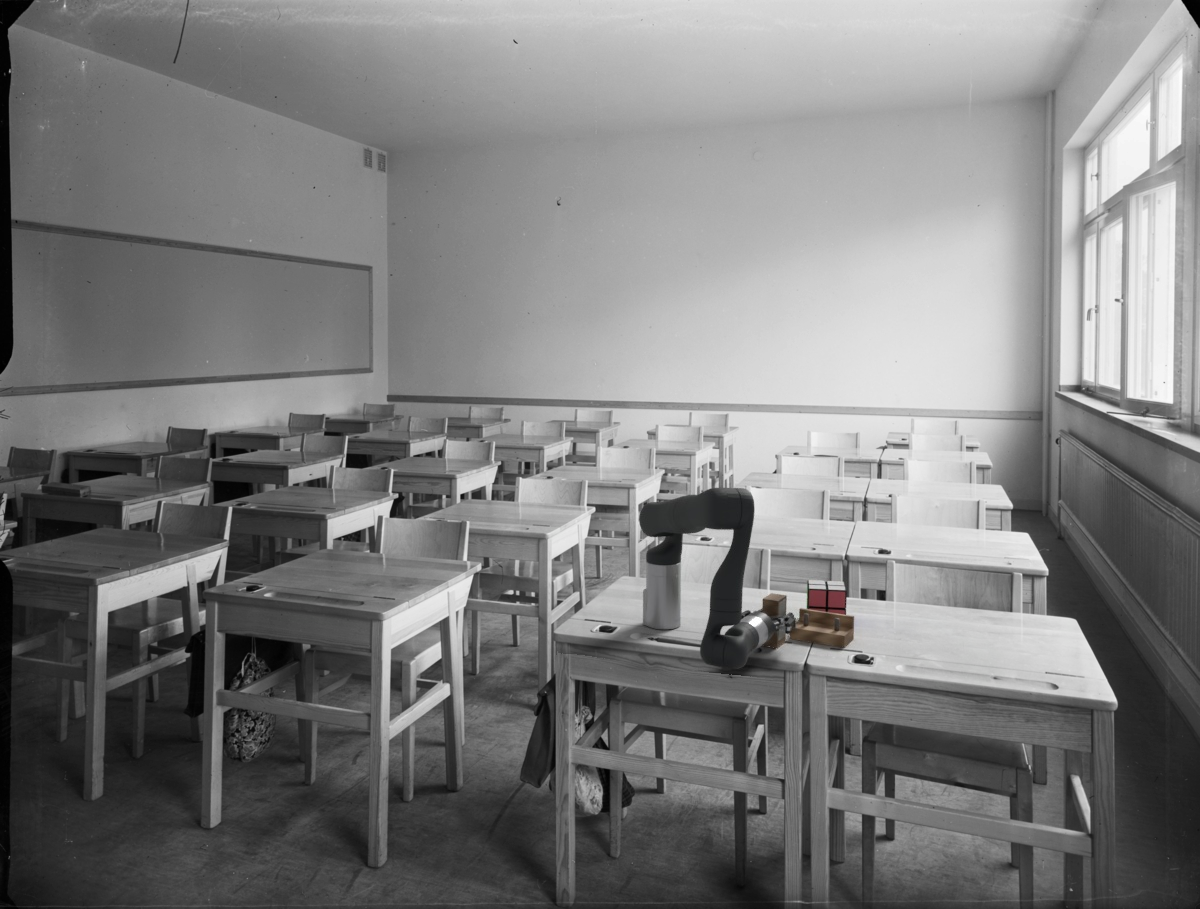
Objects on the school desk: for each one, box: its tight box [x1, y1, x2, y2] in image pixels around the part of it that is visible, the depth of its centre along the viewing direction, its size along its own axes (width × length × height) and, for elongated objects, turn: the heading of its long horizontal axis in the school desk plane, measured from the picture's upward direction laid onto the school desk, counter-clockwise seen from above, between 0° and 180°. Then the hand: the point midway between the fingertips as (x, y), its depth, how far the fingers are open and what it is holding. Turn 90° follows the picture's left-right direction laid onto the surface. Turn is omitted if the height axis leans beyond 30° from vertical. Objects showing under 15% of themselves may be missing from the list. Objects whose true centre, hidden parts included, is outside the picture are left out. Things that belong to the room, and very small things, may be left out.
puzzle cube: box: [806, 579, 848, 615], centre depth 248 cm, size 10×10×10 cm
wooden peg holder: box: [789, 607, 855, 649], centre depth 233 cm, size 14×8×6 cm, turn 59°
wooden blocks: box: [761, 593, 788, 649], centre depth 229 cm, size 4×6×12 cm, turn 149°
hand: (777, 614), depth 230 cm, fingers open, 6 cm apart
